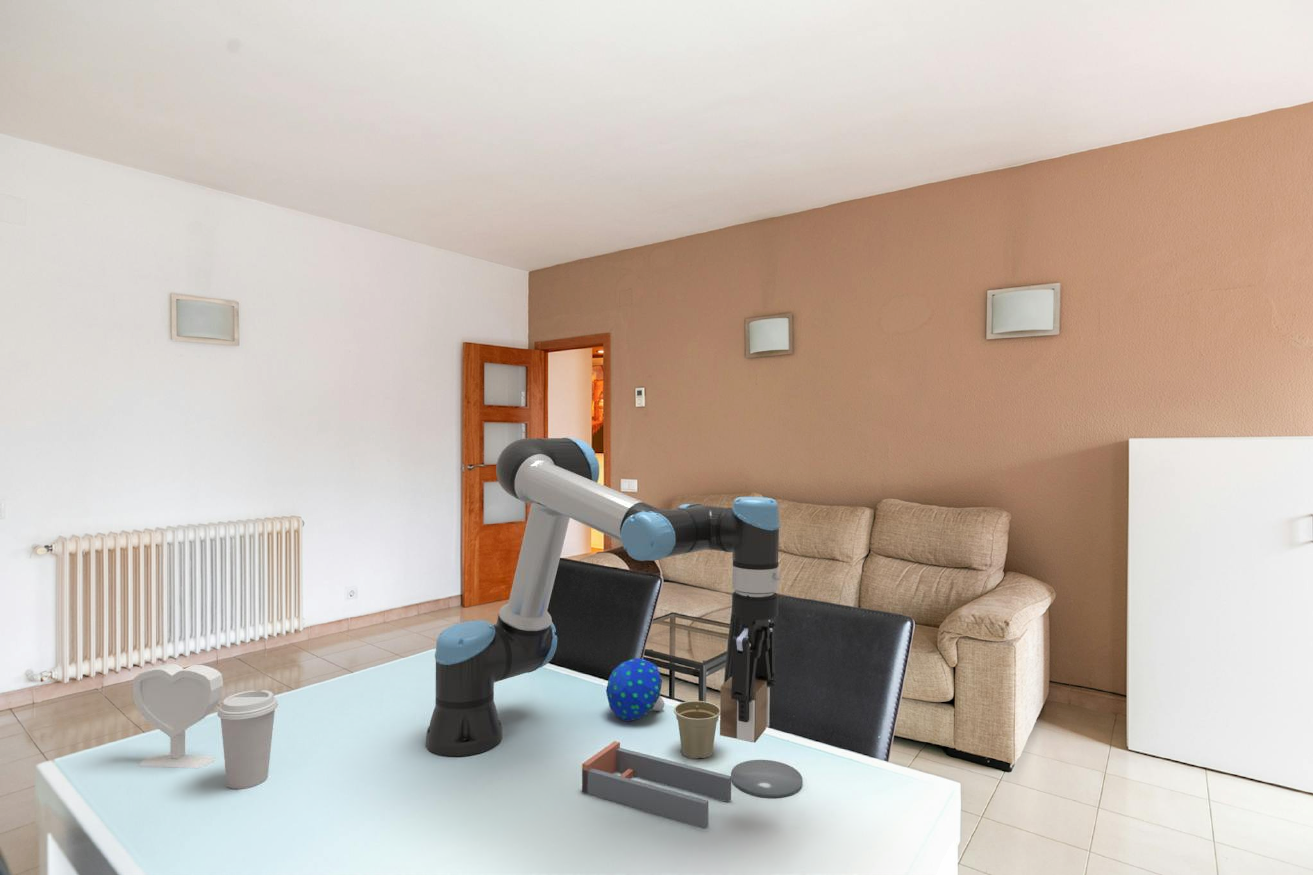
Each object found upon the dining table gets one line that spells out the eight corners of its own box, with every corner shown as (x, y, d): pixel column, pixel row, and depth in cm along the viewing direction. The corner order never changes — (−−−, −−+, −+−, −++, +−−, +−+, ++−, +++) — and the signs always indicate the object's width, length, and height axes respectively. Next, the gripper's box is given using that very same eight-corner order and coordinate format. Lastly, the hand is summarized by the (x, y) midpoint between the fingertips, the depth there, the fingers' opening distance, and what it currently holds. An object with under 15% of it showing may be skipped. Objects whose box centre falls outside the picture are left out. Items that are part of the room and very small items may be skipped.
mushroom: (691, 678, 163) (647, 647, 156) (671, 739, 155) (624, 710, 148) (651, 675, 173) (608, 646, 166) (630, 733, 165) (584, 705, 159)
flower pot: (717, 765, 136) (718, 720, 136) (669, 760, 138) (670, 716, 138) (723, 744, 146) (723, 702, 146) (677, 740, 148) (678, 698, 148)
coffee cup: (289, 772, 132) (290, 692, 132) (244, 797, 123) (245, 710, 123) (250, 764, 135) (251, 685, 135) (203, 787, 126) (204, 703, 126)
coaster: (719, 786, 128) (719, 782, 128) (746, 758, 140) (746, 754, 140) (789, 805, 122) (789, 800, 122) (811, 773, 133) (811, 769, 133)
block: (719, 735, 116) (720, 686, 116) (731, 722, 121) (732, 675, 121) (755, 742, 113) (756, 692, 113) (766, 728, 119) (766, 681, 119)
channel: (581, 791, 126) (582, 763, 126) (614, 767, 135) (614, 740, 135) (705, 828, 114) (705, 797, 114) (731, 798, 124) (731, 770, 124)
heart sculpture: (128, 765, 134) (129, 670, 134) (148, 753, 139) (149, 661, 139) (207, 768, 133) (208, 672, 133) (225, 756, 138) (226, 664, 138)
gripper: (755, 606, 106) (753, 760, 106) (795, 583, 123) (793, 716, 123) (709, 600, 110) (708, 749, 110) (754, 579, 127) (753, 708, 127)
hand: (753, 731), depth 117 cm, fingers closed on block, 6 cm apart
